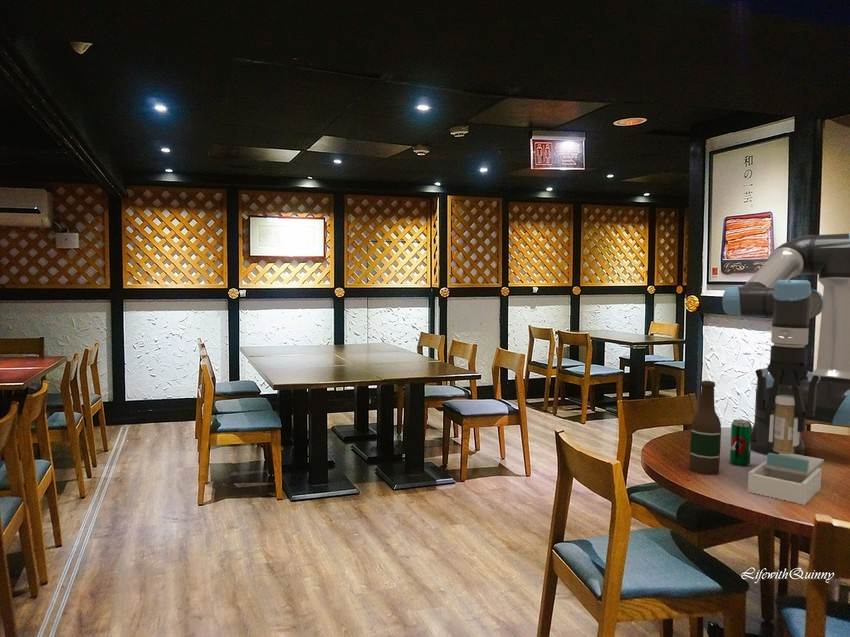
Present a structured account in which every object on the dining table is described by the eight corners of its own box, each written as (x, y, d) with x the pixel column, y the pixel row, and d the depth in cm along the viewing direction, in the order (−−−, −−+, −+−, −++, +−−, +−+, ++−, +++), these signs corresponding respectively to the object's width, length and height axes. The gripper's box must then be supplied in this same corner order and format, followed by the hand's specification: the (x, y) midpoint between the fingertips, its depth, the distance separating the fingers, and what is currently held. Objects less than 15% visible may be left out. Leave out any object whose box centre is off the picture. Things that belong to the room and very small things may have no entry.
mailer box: (767, 477, 163) (767, 458, 163) (820, 488, 155) (821, 469, 155) (747, 492, 152) (748, 472, 151) (804, 505, 144) (805, 483, 143)
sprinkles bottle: (797, 455, 148) (800, 398, 147) (776, 453, 149) (779, 397, 148) (789, 449, 152) (793, 394, 152) (769, 448, 153) (772, 393, 152)
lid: (781, 454, 168) (782, 442, 168) (823, 462, 162) (824, 449, 162) (764, 467, 157) (764, 453, 156) (808, 476, 150) (809, 462, 150)
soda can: (753, 466, 173) (755, 423, 172) (734, 466, 173) (736, 422, 172) (745, 461, 178) (747, 419, 177) (726, 460, 178) (728, 418, 177)
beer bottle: (725, 471, 168) (729, 382, 167) (712, 477, 163) (716, 384, 161) (696, 464, 174) (700, 378, 172) (683, 470, 169) (686, 380, 167)
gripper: (744, 343, 152) (739, 439, 154) (828, 349, 140) (822, 453, 142) (753, 341, 158) (749, 433, 159) (835, 347, 146) (829, 447, 147)
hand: (783, 442), depth 150 cm, fingers closed on sprinkles bottle, 4 cm apart
